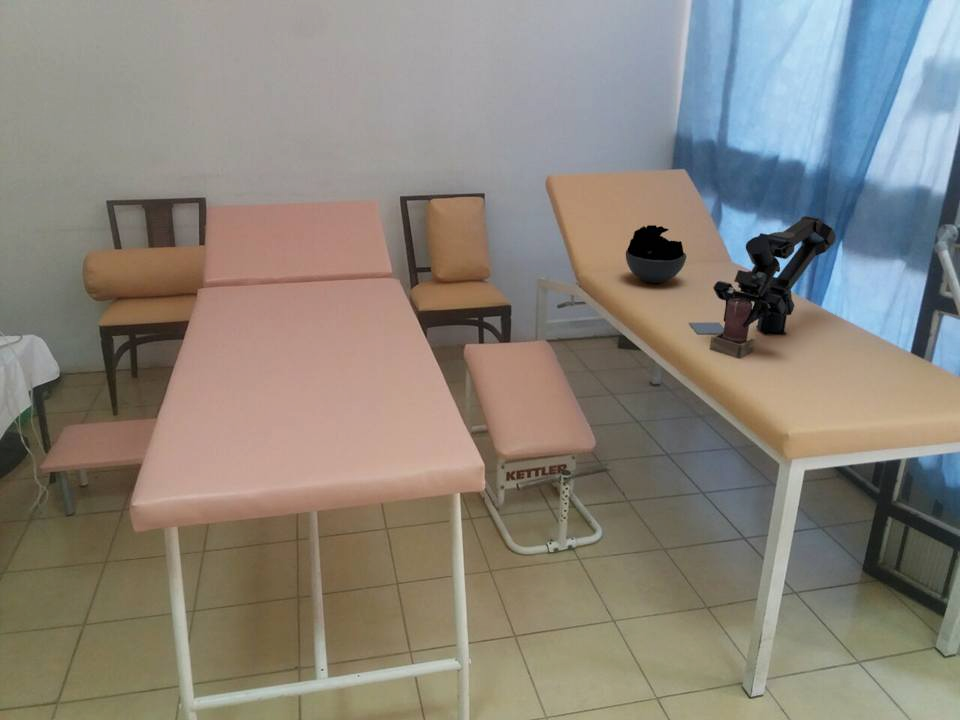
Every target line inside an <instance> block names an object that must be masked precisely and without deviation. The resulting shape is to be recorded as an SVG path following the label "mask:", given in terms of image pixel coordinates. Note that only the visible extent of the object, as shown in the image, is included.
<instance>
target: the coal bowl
mask: <svg viewBox="0 0 960 720" xmlns="http://www.w3.org/2000/svg"><path fill="white" fill-rule="evenodd" d="M668 231H670V229H669V228H666V227H665V228H664V226H657V224H656V225H655V224H654V225H653V224H652V225H650V224H647V225H646V226H644V225H643V226H641V227H640V228H639V229H637V230H634V232H633V236H632V238H631V239H630V241H629V244H628V247H627V249H626V251H625V260H626V264H627V266H628V268H629V270H630V271H631V273H632V274H633V275H634V276H635V277H636V278H638V279H640V280H642V281H644V282H646V283H650V284H661V283H664V282H667V281H669V280H671V279H673V278H675V276H677V275H678V274H679V272H681V271H682V269H683V267H684V265H685V263H686V260H687V254H686V252H684V248H683V247H684V246H683V243H682V241H677V240H669V239H667V238H666V237H664V236H661V235H663V233H665V232H668Z"/></svg>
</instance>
